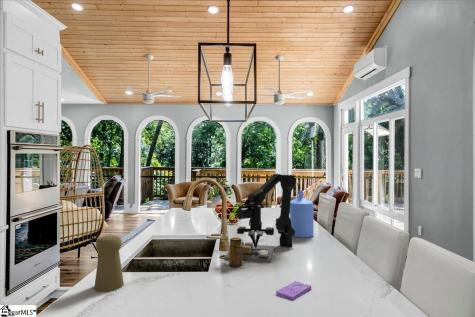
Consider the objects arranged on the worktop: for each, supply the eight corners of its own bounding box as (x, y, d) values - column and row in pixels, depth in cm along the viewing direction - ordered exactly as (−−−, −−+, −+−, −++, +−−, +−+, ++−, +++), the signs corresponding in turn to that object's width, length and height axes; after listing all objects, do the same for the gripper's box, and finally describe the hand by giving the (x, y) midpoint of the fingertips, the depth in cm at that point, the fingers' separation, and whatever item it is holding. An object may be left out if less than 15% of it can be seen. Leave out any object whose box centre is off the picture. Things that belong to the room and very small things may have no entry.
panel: (274, 248, 167) (274, 241, 168) (270, 262, 145) (270, 253, 145) (234, 246, 172) (234, 239, 172) (224, 259, 149) (224, 251, 149)
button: (268, 255, 150) (268, 250, 150) (267, 257, 146) (267, 252, 146) (259, 254, 150) (259, 249, 151) (258, 257, 147) (258, 252, 147)
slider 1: (253, 247, 163) (253, 242, 163) (252, 249, 160) (252, 243, 160) (245, 247, 164) (245, 241, 164) (244, 249, 161) (244, 243, 161)
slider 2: (251, 251, 156) (251, 245, 156) (250, 253, 153) (250, 247, 153) (243, 251, 157) (243, 245, 157) (242, 253, 154) (242, 247, 154)
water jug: (319, 235, 195) (318, 191, 196) (301, 239, 187) (300, 192, 187) (300, 231, 208) (300, 189, 209) (283, 234, 200) (283, 190, 200)
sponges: (311, 290, 115) (311, 285, 115) (292, 302, 106) (292, 296, 106) (295, 285, 120) (295, 280, 120) (275, 295, 110) (275, 290, 110)
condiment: (240, 261, 147) (240, 236, 147) (247, 267, 139) (246, 240, 139) (225, 263, 144) (225, 237, 144) (231, 269, 136) (231, 242, 136)
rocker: (243, 241, 171) (243, 239, 170) (240, 248, 163) (240, 246, 163) (236, 240, 171) (236, 238, 171) (233, 247, 164) (233, 245, 163)
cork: (105, 294, 112) (105, 241, 112) (88, 288, 117) (87, 237, 117) (129, 284, 121) (129, 235, 121) (112, 279, 126) (112, 232, 126)
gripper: (274, 215, 167) (275, 244, 167) (240, 214, 171) (241, 242, 171) (272, 218, 156) (273, 249, 156) (236, 217, 160) (236, 248, 160)
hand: (255, 247), depth 161 cm, fingers closed
